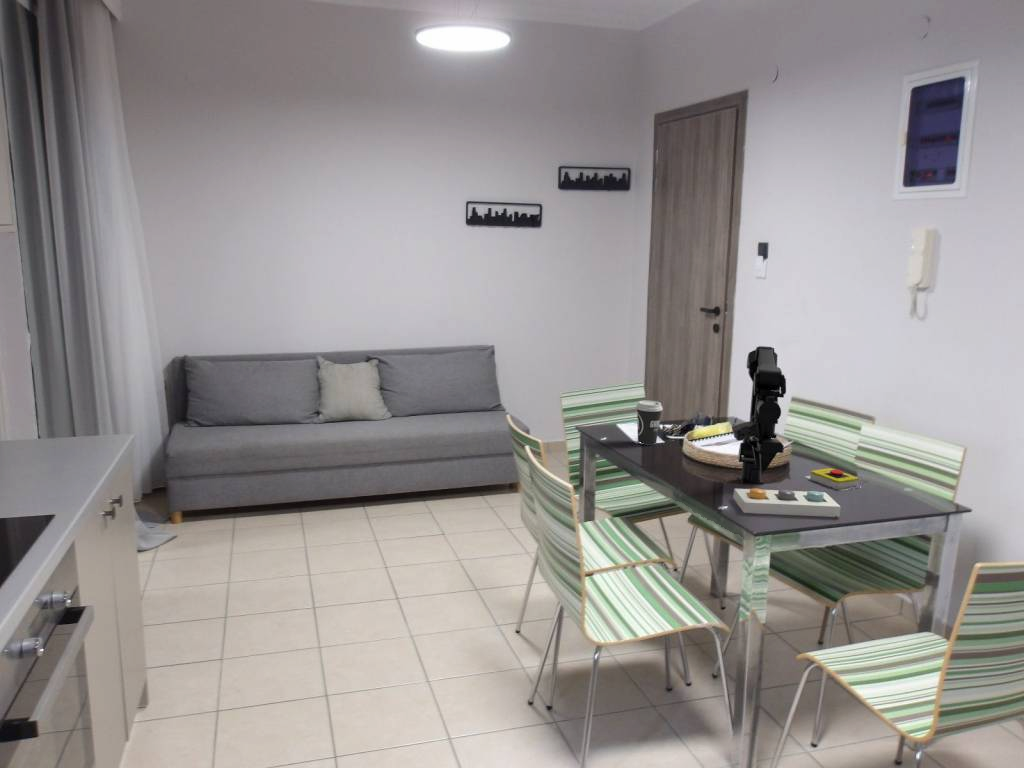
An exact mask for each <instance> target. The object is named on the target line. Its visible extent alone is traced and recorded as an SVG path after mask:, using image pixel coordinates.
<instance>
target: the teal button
mask: <svg viewBox="0 0 1024 768" xmlns="http://www.w3.org/2000/svg"><path fill="white" fill-rule="evenodd" d="M806 492H807V498H806V500H807V501H811V502H823V498H824V494H823V493H821V491H816V490H808V491H806Z"/></svg>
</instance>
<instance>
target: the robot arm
mask: <svg viewBox="0 0 1024 768" xmlns="http://www.w3.org/2000/svg"><path fill="white" fill-rule="evenodd" d="M746 369H747V370H748V376H749V378H750V379H751V381H752V385H751V400H750V412H749V421H746V422H742V423H739V424H734V425H733V426H732V425H731V429H732V434H733V437H734V438H735V440H736V441H737V442H738V441H742V442H740V444H739V448H738V455H737V459H738V462H739V463H742V464H741V465H742V467H741V468H742V469H741V475H738V476H737V477H738V479H739V480H740V481H741V482H742V483H743V484H761V485H762V484H763V485H764V483H765V482H764V480H763V479H762V478H761V477H762V475H761V474H762V473H766V471H767V469H768V467H769V466H770V465H771V463H772V461H773V460H774V458H775V457H776V455H777V454H784V448H785V446H784V444H783V443H782V442H781V441H780V440H779V439H778V438H777V434H776V433H775V432H776V425H778V424H779V419H780V417H781V414H782V408H781V407H780V404H779V399H778V398H784V397H785V395H786V393H787V381H786V380H787V379H786V377H785V375H784V374H783V372H782V370H781V368H780V367H778V354H777V353H776V352H775V348H774V347H773V346H765V345H764V346H762V345H761V346H760V345H758V346H756V348H755V349H754V350H752V351H750V352H748V355H747V359H746Z"/></svg>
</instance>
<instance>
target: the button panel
mask: <svg viewBox="0 0 1024 768" xmlns="http://www.w3.org/2000/svg"><path fill="white" fill-rule="evenodd" d="M733 489H734V490H733V500H734V501H735V503H736V504H737V505H738V506H739V508H740V510H741V511H742V513H744V514H758V515H759V514H761V515H763V514H764V515H784V516H785V515H787V516H805V517H826V518H827V517H829V518H830V517H831V518H841V517H840V516H841V505H840V504H838V503H837V502H836V501H835V500H834V498H832V497H831V496H830V495H829V494H828V493H827V492H825V491H823V492H821V491H820V492H821V493H823V494H824V498H823V502H811V501H807V500H806V498H807V492H808V491H803V490H802V491H801V490H799V491H797V490H792V491H793V492H794V493H795V497H794V501H788V500H779V499H778V491H779V490H780V489H779V490H777V489H776V490H775V489H764V490H765V491H766V498H765V499H750V498H749V493H750V489H751V488H733ZM835 516H837V517H835Z"/></svg>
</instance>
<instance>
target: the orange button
mask: <svg viewBox="0 0 1024 768" xmlns="http://www.w3.org/2000/svg"><path fill="white" fill-rule="evenodd" d="M749 489H750V493H749V498H750V499H765V498H766V491H765V490H766V489H761V488H756V487H755V488H749Z"/></svg>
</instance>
